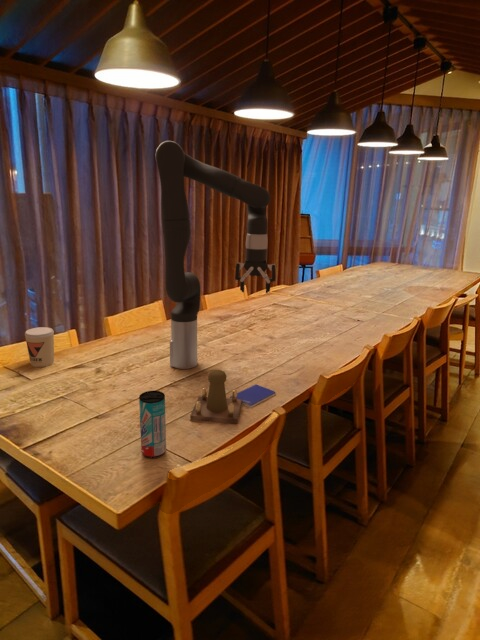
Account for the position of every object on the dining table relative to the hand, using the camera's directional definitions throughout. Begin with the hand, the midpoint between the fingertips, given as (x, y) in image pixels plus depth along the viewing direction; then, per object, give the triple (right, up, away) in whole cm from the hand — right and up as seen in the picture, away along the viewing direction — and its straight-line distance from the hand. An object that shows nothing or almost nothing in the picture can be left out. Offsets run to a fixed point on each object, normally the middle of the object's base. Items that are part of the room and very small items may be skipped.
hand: (254, 292), depth 161 cm
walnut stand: (-12, -36, -32) cm, 50 cm away
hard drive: (-1, -34, -21) cm, 40 cm away
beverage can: (-26, -42, -52) cm, 72 cm away
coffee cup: (-76, -25, 0) cm, 80 cm away
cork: (-12, -35, -32) cm, 49 cm away
